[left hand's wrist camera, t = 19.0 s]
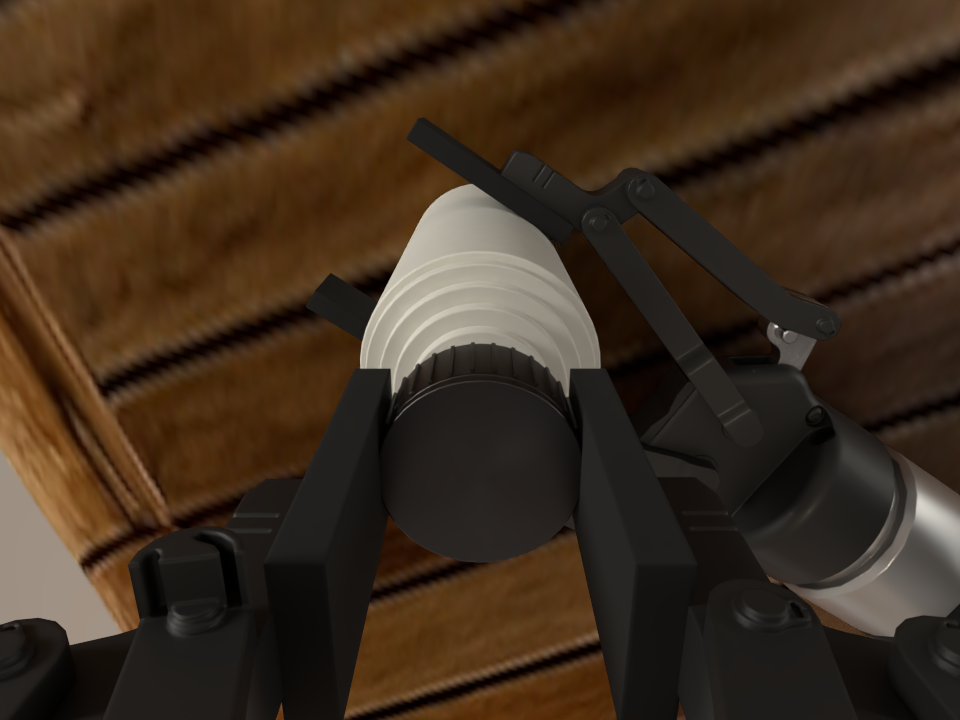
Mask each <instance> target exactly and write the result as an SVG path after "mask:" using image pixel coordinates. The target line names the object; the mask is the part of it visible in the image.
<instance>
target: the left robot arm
mask: <svg viewBox="0 0 960 720" xmlns="http://www.w3.org/2000/svg"><path fill="white" fill-rule="evenodd" d="M569 399H570V402H571V405H572V408H573V412H574V415H575V418H576V422H577V425H578V428H579V432H577V436H578V439H579V442H580V446H581V449H582V465H581V482H580V497H579V501H578V503H577V505H576V508H575V510H574V511H573V513H572V517H573V521H574V526H575V530H576V535H577V539H578V544H579V548H580V553H581V557H582V562H583V566H584V571H585V575H586V580H587V584H588V589H589V594H590V598H591V603H592V607H593V612H594V616H595V621H596V625H597V630H598V634H599V639H600V643H601V648H602V652H603V657H604V661H605V666H606V670H607V675H608V679H609V684H610V688H611V693H612V697H613V702H614V706H615V711H616V715H617V720H677V713H678V705H679V699H680V702H681V705H682V708H683V711H684V714H685V717H686V720H960V622H959V621H957V620H953V619H950V618H946V617H937V616H927V615H922V616H917V617H912V618H907V619H905V620H904V621H903V622H902V623H901V624H900V625H899V626H898V627H896V630H895V634H894V637H893V641H892V643H891V642H886V641H882V640H877V639H873V638H868V637H864V636H859V635H855V634H850V633H846V632H843V631H839V630H836V629H832V628H829V627H826V626H824V625H822V624H821V622H820V620H819V618H818V617H817V615H816V614H815V612H814V611H813V609H812V608H811V606H810V605H809V604H808V603H806V602H805V601H804V600H803V599H801V598H800V597H799V596H797V595H796V594H795V593H793V592H791V591H789V590H787V589H785V588H783V587H781V586H778V585H776V584H774V583H771V582H770V580H769V579H768V577H767V576H766V574H765V572H764V571H763V569H762V567H761V566H760V564H759V562H758V561H757V559H756V557H755V556H754V554H753V552H752V551H751V549H750V547H749V546H748V544H747V542H746V541H745V539H744V537H743V536H742V534H741V533H740V531H737V526H736V524H735V523H734V521H733V519H732V518H731V516H730V515H728V511H727V509H726V508H725V506H724V504H723V503H722V501H721V499H720V498H719V496H718V495H717V493H716V492H715V491H713V490H712V489H710V488H709V487H708V486H706V485H705V484H704V483H702V482H701V481H700V480H698V479H697V478H696V477H657V476H656V474H655V472H654V470H653V468H652V466H651V464H650V462H649V459H648V457H647V455H646V453H645V451H644V449H643V447H642V445H641V442H640V440H639V438H638V436H637V434H636V432H635V430H634V428H633V425H632V423H631V421H630V419H629V417H628V415H627V413H626V411H625V408H624V406H623V404H622V402H621V400H620V398H619V396H618V394H617V391H616V389H615V387H614V385H613V383H612V381H611V379H610V377H609V374H608V372H607V370H606V369H594V368H570V380H569ZM391 400H392V385H391V369H355V370H354V372H353V374H352V376H351V378H350V380H349V382H348V385H347V387H346V389H345V391H344V393H343V395H342V397H341V400H340V402H339V404H338V406H337V408H336V410H335V412H334V414H333V417H332V419H331V421H330V423H329V425H328V427H327V429H326V431H325V434H324V436H323V438H322V440H321V442H320V444H319V446H318V448H317V451H316V453H315V455H314V457H313V459H312V461H311V463H310V465H309V468H308V470H307V472H306V474H305V476H304V478H303V479H266V480H264V481H263V482H262V483H260V484H259V485H258V486H256V487H255V488H253V489H252V490H251V491H249V492H248V493H247V494H245V495H244V497H243V499H242V500H241V502H240V504H239V505H238V507H237V509H236V510H235V512H234V514H233V518H231V519H230V520H229V522H228V524H227V525H226V527H225V529H224V528H221V527H193V528H188V529H184V530H179V531H175V532H173V533H170V534H168V535H165V536H163V537H160V538H158V539H156V540H154V541H153V542H151V543H150V544H148V545H147V546H145V547H144V548H142V549H141V550H140V551H138V552H137V554H136V555H135V556H134V558H133V559H132V560H131V562H130V563H129V564H128V567H129V572H130V576H131V581H132V585H133V590H134V594H135V599H136V603H137V608H138V613H139V617H140V623H139V626H138V628H137V629H134V630H131V631H128V632H124V633H121V634H118V635H114V636H109V637H105V638H100V639H96V640H92V641H87V642H83V643H78V644H74V645H69V641H68V638H67V634H66V631H65V630H64V629H63V628H62V627H61V626H60V625H59V624H58V623H57V622H56V621H51V620H46V619H41V618H33V619H22V620H15V621H11V622H8V623H5V624H2V625H0V720H276V717H277V714H278V711H279V708H280V705H281V702H282V707H283V714H284V720H343V719H344V714H345V710H346V705H347V701H348V696H349V692H350V687H351V683H352V678H353V674H354V669H355V665H356V660H357V656H358V651H359V647H360V642H361V638H362V633H363V629H364V624H365V620H366V615H367V610H368V606H369V601H370V597H371V592H372V588H373V583H374V579H375V574H376V570H377V565H378V561H379V556H380V552H381V547H382V543H383V538H384V534H385V529H386V525H387V520H388V516H389V513H388V511H387V510H386V508H385V505H384V503H383V501H382V498H381V486H380V469H379V449H380V446H381V442H382V439H383V435H384V432H385V429H386V427H384V424H385V420H386V417H387V414H388V410H389V407H390V403H391Z"/></svg>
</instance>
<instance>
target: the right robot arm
mask: <svg viewBox="0 0 960 720" xmlns="http://www.w3.org/2000/svg"><path fill="white" fill-rule="evenodd" d="M406 139H407V140H409V141H410V142H411V143H413V144H414V145H416V146H417V147H419V148H420V149H422V150H423V151H425V152H426V153H428V154H429V155H431V156H432V157H433V158H435V159H436V160H438V161H439V162H441V163H442V164H444V165H445V166H447V167H448V168H450V169H451V170H453V171H454V172H456V173H457V174H458V175H460V176H461V177H463V178H464V179H466V180H467V181H469V182H470V183H472V184H473V185H475V186H476V187H478V188H479V189H480V190H482V191H483V192H485V193H486V194H488V195H489V196H491V197H492V198H494V199H495V200H497V201H498V202H500V203H501V204H503V205H504V206H505V207H507V208H508V209H510V210H511V211H513V212H514V213H516V214H517V215H519V216H520V217H522V218H523V219H525V220H526V221H528V222H529V223H531V224H532V225H534V226H535V227H536V228H538V229H539V230H541V231H542V232H544V233H545V234H547V235H548V236H550V237H551V238H552V239H554V240H555V241H557V242H558V243H560V244H561V245H562V244H563V243H564V242H565V240H566V239H567V237H568V236H569V235H570V233H571V232H572V230H573V229H574V228H576V229H578V230H579V231H580V232H582V233H583V234H584V235H585V237H586V238H587V240H588V241H589V242H590V244H591V245H592V247H593V248H594V249H595V251H596V252H597V253H598V255H599V256H600V258H601V259H602V260H603V262H604V263H605V265H606V266H607V267H608V269H609V270H610V271H611V273H612V274H613V276H614V277H615V278H616V280H617V281H618V283H619V284H620V285H621V287H622V288H623V289H624V291H625V292H626V294H627V295H628V296H629V298H630V299H631V301H632V302H633V303H634V305H635V306H636V307H637V309H638V310H639V312H640V313H641V314H642V316H643V317H644V319H645V320H646V321H647V323H648V324H649V325H650V327H651V328H652V330H653V331H654V332H655V334H656V335H657V337H658V338H659V339H660V341H661V342H662V344H663V345H664V346H665V348H666V349H667V351H668V352H669V353H670V355H671V356H672V357H673V359H674V360H675V362H676V363H677V364H676V363H674V365H673V366H672V367H671V368H670V369H669V371H668V372H667V373H666V374H665V376H664V377H663V379H662V381H661V383H660V385H659V388H658V390H657V392H656V393H655V395H653V396H652V397H651V398H649V399H648V400H647V401H645V402H644V403H643V404H641V405H640V406H639V407H638V409H637V410H636V411H635V412H634V413H633V415H632V414H628V413H627V415H628V417H629V419H630V421H631V423H632V425H633V428H634V430H635V432H636V434H637V436H638V438H639V440H640V442H641V445H642V447H643V449H644V451H645V453H646V455H647V457H648V459H649V462H650V464H651V466H652V468H653V470H654V472H655V474H656V476H657V477H696V478H697V479H698V480H700V481H701V482H702V483H704V484H705V485H706V486H708V487H709V488H710V489H712V490H713V491H715V492H716V493H717V495H718V496H719V498H720V499H721V501H722V503H723V504H724V506H725V508H726V509H727V511H728V515H730V516H731V518H732V519H733V521H734V523H735V524H736V526H737V531H740V533H741V534H742V536H743V537H744V539H745V541H746V542H747V544H748V546H749V547H750V549H751V551H752V552H753V554H754V556H755V557H756V559H757V561H758V562H759V564H760V566H761V567H762V569H763V571H764V572H765V574H766V575H768V576H770V577H771V578H773V579H775V580H777V581H780V582H783V583H784V584H785V585H786V586H787V587H788V588H789V589H790V590H792V591H793V592H795V593H797V594H799V595H800V596H802V597H804V598H805V599H807V600H809V601H810V602H812V603H814V604H816V605H817V606H819V607H821V608H822V609H824V610H826V611H828V612H829V613H831V614H833V615H834V616H836V617H838V618H840V619H841V620H843V621H845V622H846V623H848V624H850V625H851V626H853V627H855V628H856V629H857V630H859V631H860V632H862V633H864V634H865V635H867V636H870V637H871V638H873V639H877V640H882V641H886V642H891V643H892V641H893V637H894V634H895V630H896V627H898V626H899V625H900V624H901V623H902V622H903V621H904V620H905V619H907V618H912V617H917V616H922V615H927V616H937V617H946V618H950V619H953V620H957V621H959V622H960V495H959V494H957V493H956V492H954V491H953V490H952V489H950V488H949V487H947V486H946V485H944V484H943V483H942V482H940V481H939V480H937V479H936V478H934V477H933V476H932V475H930V474H929V473H927V472H926V471H924V470H923V469H921V468H920V467H919V466H917V465H916V464H914V463H913V462H911V461H910V460H909V459H907V458H906V457H904V456H903V455H901V454H900V453H898V452H897V451H895V450H894V449H892V448H890V447H889V446H887V445H884V444H883V443H882V442H881V441H880V440H879V439H878V438H877V437H875V436H874V435H872V434H871V433H869V432H868V431H867V430H865V429H864V428H862V427H861V426H859V425H858V424H856V423H855V422H854V421H852V420H851V419H849V418H848V417H846V416H845V415H843V414H842V413H841V412H839V411H838V410H836V409H835V408H833V407H832V406H830V405H829V404H828V403H826V402H825V401H823V400H822V399H820V398H819V397H817V396H816V395H814V394H813V393H812V391H811V390H810V388H809V385H808V382H807V379H806V377H805V376H804V374H803V373H802V372H801V369H802V367H803V365H804V364H805V362H806V360H807V358H808V356H809V354H810V352H811V351H812V349H813V347H814V345H815V343H816V341H817V340H822V341H824V340H828V339H831V338H832V337H834V336H835V335H836V334H837V333H838V332H839V330H840V327H841V318H840V316H839V315H838V314H837V313H836V312H834V311H832V310H831V309H829V308H827V307H826V306H824V305H822V304H821V303H819V302H817V301H816V300H814V299H812V298H810V297H809V296H807V295H805V294H803V293H800V292H797V291H794V290H791V289H788V288H785V287H783V286H780V285H778V284H777V283H776V282H775V281H774V280H773V279H771V278H770V277H769V276H768V275H767V274H766V273H765V272H764V271H762V270H761V269H760V268H759V267H758V266H757V265H756V264H754V263H753V262H752V261H751V260H750V259H749V258H748V257H747V256H745V255H744V254H743V253H742V252H741V251H740V250H739V249H737V248H736V247H735V246H734V245H733V244H732V243H731V242H729V241H728V240H727V239H726V238H725V237H724V236H723V235H722V234H720V233H719V232H718V231H717V230H716V229H715V228H714V227H712V226H711V225H710V224H709V223H708V222H707V221H706V220H705V219H703V218H702V217H701V216H700V215H699V214H698V213H697V212H695V211H694V210H693V209H692V208H691V207H690V206H689V205H688V204H686V203H685V202H684V201H683V200H682V199H681V198H680V197H678V196H677V195H676V194H675V193H674V192H673V191H672V190H671V189H669V188H668V187H667V186H666V185H665V184H664V183H663V182H661V181H660V180H659V179H658V178H657V177H655V176H653V175H651V174H649V173H647V172H644V171H642V170H640V169H637V168H627V169H624V170H623V171H622V172H621V173H619V175H618V176H617V178H616V179H614V180H613V181H612V182H610V183H609V184H608V185H606V186H605V187H603V188H601V189H600V190H596V191H586V190H583V189H581V188H579V187H578V186H576V185H575V184H573V183H572V182H571V181H569V180H568V179H566V178H565V177H563V176H562V175H561V174H559V173H558V172H556V171H555V170H554V169H552V168H551V167H549V166H548V165H546V164H545V163H544V162H542V161H541V160H539V159H538V158H537V157H535V156H534V155H532V154H531V153H529V152H527V151H522V150H518V149H514V150H513V151H512V153H511V155H510V156H509V158H508V159H507V161H506V162H505V164H504V165H503V167H502V168H501V170H499V169H498V168H496V167H495V166H493V165H492V164H490V163H489V162H487V161H486V160H485V159H483V158H482V157H480V156H479V155H477V154H476V153H474V152H473V151H472V150H470V149H469V148H467V147H466V146H464V145H463V144H461V143H460V142H459V141H457V140H456V139H454V138H453V137H451V136H450V135H448V134H447V133H446V132H444V131H443V130H441V129H440V128H438V127H437V126H435V125H434V124H433V123H431V122H430V121H428V120H427V119H425V118H420V119H417V121H416V122H415V124H414V126H413V128H412V129H411V131H410V133H409V134H408V136H407V138H406ZM638 212H639V213H640V214H641V215H642V216H643V217H644V218H646V219H647V220H648V221H649V222H650V223H651V224H653V225H654V226H655V227H656V228H657V229H658V230H660V231H661V232H662V233H663V234H664V235H665V236H667V237H668V238H669V239H670V240H671V241H672V242H674V243H675V244H676V245H677V246H678V247H679V248H681V249H682V250H683V251H684V252H685V253H686V254H688V255H689V256H690V257H691V258H692V259H693V260H695V261H696V262H697V263H698V264H699V265H700V266H702V267H703V268H704V269H705V270H706V271H707V272H709V273H710V274H711V275H712V276H713V277H714V278H715V279H717V280H718V281H719V282H720V283H721V284H722V285H724V286H725V287H726V288H727V289H728V290H729V291H731V292H732V293H733V294H734V295H735V296H736V297H738V298H739V299H740V300H742V301H743V302H744V303H746V304H747V305H748V306H750V307H751V308H752V309H754V310H755V311H756V312H758V313H759V314H760V317H759V322H758V329H759V331H760V333H761V334H762V335H763V336H764V337H766V338H767V339H768V340H769V341H770V343H771V353H770V355H743V356H717V357H714V356H713V355H712V354H711V352H710V351H709V350H708V348H707V347H706V346H705V345H704V343H703V342H702V340H701V339H700V338H699V336H698V335H697V333H696V332H695V330H694V329H693V328H692V326H691V325H690V323H689V322H688V320H687V319H686V318H685V316H684V315H683V313H682V312H681V310H680V309H679V308H678V306H677V305H676V303H675V302H674V300H673V299H672V298H671V296H670V295H669V293H668V292H667V290H666V289H665V288H664V286H663V285H662V283H661V282H660V280H659V279H658V278H657V276H656V275H655V273H654V272H653V270H652V269H651V268H650V266H649V265H648V263H647V262H646V260H645V259H644V258H643V256H642V255H641V253H640V252H639V250H638V249H637V248H636V246H635V245H634V243H633V242H632V240H631V239H630V238H629V236H628V235H627V233H626V232H625V230H624V229H623V228H622V226H621V224H622V223H624V222H625V221H627V220H628V219H629V218H631V217H632V216H634V215H635V214H637V213H638ZM377 304H378V302H377V301H375V300H374V299H372V298H370V297H369V296H367V295H365V294H364V293H362V292H361V291H359V290H357V289H356V288H354V287H353V286H351V285H349V284H348V283H346V282H344V281H343V280H341V279H340V278H338V277H336V276H335V275H333V274H332V273H330V275H329V276H328V277H327V278H326V279H325V280H324V281H323V282H322V284H321V285H320V286H319V287H318V288H317V289H316V290H315V292H314V294H313V296H312V297H311V299H310V301H309V302H308V304H307V306H306V307H307V308H308V309H310V310H312V311H313V312H315V313H317V314H318V315H320V316H322V317H323V318H325V319H327V320H328V321H330V322H332V323H333V324H335V325H337V326H338V327H340V328H342V329H343V330H345V331H347V332H348V333H350V334H352V335H353V336H355V337H357V338H358V339H360V340H361V341H363V338H364V334H365V330H366V327H367V325H368V322H369V320H370V318H371V315H372V313H373V311H374V309H375V307H376V306H377ZM564 525H565V526H567V527H569V528H571V529H573V530H575V526H574V521H573V517H572V515H571V516H570V518H569V519H568V521H567V522H566V523H565V524H564ZM575 531H576V530H575Z"/></svg>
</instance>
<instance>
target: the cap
mask: <svg viewBox="0 0 960 720" xmlns="http://www.w3.org/2000/svg"><path fill="white" fill-rule="evenodd" d="M384 427H386V429H385V432H384V435H383V439H382V442H381V446H380V449H379V469H380V486H381V498H382V501H383V503H384V505H385V508H386V510H387V511H388V513H389V515H390V516H391V518H392V519H393V521H394V522H395V523H396V524H397V526H398V527H399V528H400V529H401V530H402V531H403V532H404V533H405V534H406V535H407V536H408V537H409V538H411V539H412V540H413V541H415V542H416V543H418V544H419V545H421V546H422V547H424V548H426V549H428V550H430V551H432V552H434V553H436V554H439V555H441V556H444V557H448V558H451V559H455V560H461V561H467V562H494V561H500V560H506V559H510V558H513V557H517V556H520V555H522V554H525V553H527V552H529V551H531V550H533V549H535V548H537V547H539V546H540V545H542V544H543V543H545V542H546V541H548V540H549V539H550V538H552V537H553V536H554V535H555V534H556V533H557V532H558V531H559V530H560V529H561V528H562V527H563V526H564V524H565V523H566V522H567V521H568V519H569V518H570V516H571V515H572V513H573V511H574V510H575V508H576V505H577V503H578V501H579V497H580V482H581V465H582V449H581V446H580V442H579V439H578V436H577V432H579V428H578V425H577V422H576V418H575V415H574V412H573V408H572V405H571V402H570V399H569V397H566V396H565V394H564V391H563V387H562V384H561V382H560V381H556V379H555V378H554V377H553V376H552V374H551V373H550V370H549V368H548V367H547V366H546V367H543V366H542V365H541V364H540V363H539V362H537V361H536V360H534V357H533V356H532V355H530V356H528V355H526V354H524V353H522V352H519V351H517V350H516V349H515V348H514V347H511V348H508V347H505V346H499V345H496V343H491V344H475V342H471V344H467V345H461V346H456V347H455V345H454V346H451V348H450V349H447V350H444V351H442V352H439V353H437V354H436V352H435V353H433V354H432V356H431V357H430V358H428V359H427V360H425V361H424V362H422V363H421V364H419V363H418V364H416V366H415V369H414V370H413V371H412V372H411V373H410V374H409V376H408V377H404V378H403V379H402V383H401V386H400V388H399V390H398V392H397V393H396V392H394V394H393V397H392V400H391V403H390V407H389V410H388V414H387V417H386V420H385V424H384Z"/></svg>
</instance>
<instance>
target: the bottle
mask: <svg viewBox="0 0 960 720" xmlns="http://www.w3.org/2000/svg"><path fill="white" fill-rule="evenodd" d="M471 342H475V344H491V343H496V345H499V346H505V347H508V348H511V347H514V348H515V349H516V350H517V351H519V352H522V353H524V354H526V355H528V356H530V355H532V356H533V357H534V360H536V361H537V362H539V363H540V364H541V365H542V366H543V367H546V366H547V367H548V368H549V370H550V373H551V374H552V376H553V377H554V378H555V379H556V381H560V382H561V384H562V387H563V391H564V394H565V396H566V397H569V380H570V368H594V369H600V367H601V365H600V349H599V343H598V337H597V334H596V331H595V328H594V325H593V322H592V320H591V318H590V316H589V314H588V312H587V310H586V308H585V306H584V304H583V302H582V300H581V298H580V296H579V294H578V293H577V291H576V289H575V287H574V285H573V283H572V281H571V279H570V277H569V275H568V273H567V271H566V269H565V267H564V265H563V263H562V261H561V260H560V258H559V256H558V254H557V252H556V250H555V248H554V246H553V244H552V242H551V240H550V238H549V236H548V235H547V234H545V233H544V232H542V231H541V230H539V229H538V228H536V227H535V226H534V225H532V224H531V223H529V222H528V221H526V220H525V219H523V218H522V217H520V216H519V215H517V214H516V213H514V212H513V211H511V210H510V209H508V208H507V207H505V206H504V205H503V204H501V203H500V202H498V201H497V200H495V199H494V198H492V197H491V196H489V195H488V194H486V193H485V192H483V191H482V190H480V189H479V188H478V187H476V186H475V185H473V184H469V185H464V186H460V187H458V188H455V189H452V190H450V191H449V192H447V193H445V194H443V195H442V196H441V197H439V198H438V199H437V200H436V201H435V202H433V203H432V204H431V205H430V207H429V208H428V209H427V210H426V212H425V213H424V215H423V216H422V218H421V220H420V222H419V224H418V226H417V227H416V229H415V231H414V233H413V235H412V237H411V239H410V241H409V243H408V245H407V247H406V249H405V251H404V253H403V255H402V257H401V259H400V261H399V263H398V265H397V267H396V268H395V270H394V272H393V274H392V276H391V278H390V280H389V282H388V284H387V286H386V288H385V290H384V292H383V294H382V296H381V298H380V300H379V302H378V304H377V306H376V307H375V309H374V311H373V313H372V315H371V318H370V320H369V322H368V325H367V327H366V330H365V334H364V338H363V341H362V348H361V356H360V366H361V369H391V385H392V397H393V394H394V392H396V393H397V392H398V390H399V388H400V386H401V383H402V379H403V378H404V377H408V376H409V374H410V373H411V372H412V371H413V370H414V369H415V366H416V364H418V363H419V364H421V363H422V362H424V361H425V360H427V359H428V358H430V357H431V356H432V354H433V353H435V352H436V354H437V353H439V352H442V351H444V350H447V349H450V348H451V346H454V345H455V347H456V346H461V345H467V344H471Z"/></svg>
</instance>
